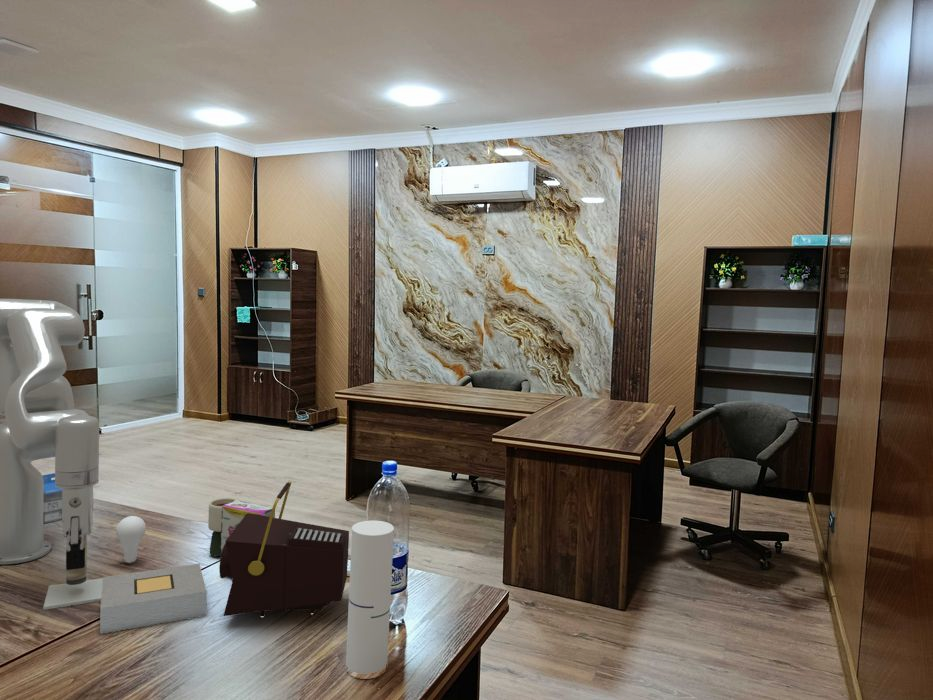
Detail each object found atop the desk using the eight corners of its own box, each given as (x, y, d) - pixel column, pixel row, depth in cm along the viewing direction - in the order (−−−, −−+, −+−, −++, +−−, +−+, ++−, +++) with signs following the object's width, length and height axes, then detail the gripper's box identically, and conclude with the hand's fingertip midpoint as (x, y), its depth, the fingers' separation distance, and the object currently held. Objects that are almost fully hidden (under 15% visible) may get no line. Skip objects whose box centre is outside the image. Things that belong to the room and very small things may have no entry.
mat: (43, 610, 121) (43, 607, 121) (49, 588, 129) (49, 585, 129) (102, 600, 125) (102, 598, 125) (104, 580, 134) (104, 577, 134)
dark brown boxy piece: (239, 589, 134) (242, 476, 132) (347, 590, 136) (352, 479, 134) (215, 629, 117) (219, 500, 116) (339, 629, 119) (344, 503, 118)
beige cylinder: (65, 586, 125) (66, 528, 124) (67, 579, 128) (67, 522, 127) (85, 583, 126) (86, 525, 126) (86, 576, 129) (87, 520, 129)
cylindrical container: (347, 655, 111) (354, 520, 109) (387, 656, 112) (394, 521, 110) (343, 679, 104) (349, 534, 102) (386, 679, 104) (393, 535, 103)
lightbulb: (150, 558, 146) (151, 513, 146) (134, 569, 140) (135, 522, 140) (126, 556, 147) (127, 511, 146) (109, 567, 141) (110, 519, 140)
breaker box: (100, 634, 113) (100, 608, 113) (102, 600, 125) (103, 577, 125) (205, 615, 122) (206, 591, 122) (198, 586, 134) (199, 563, 134)
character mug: (248, 556, 151) (250, 504, 150) (221, 564, 145) (222, 510, 144) (225, 543, 158) (226, 493, 157) (198, 551, 152) (199, 499, 151)
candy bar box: (218, 576, 139) (220, 505, 138) (233, 568, 144) (235, 499, 143) (259, 586, 136) (262, 513, 135) (273, 577, 140) (276, 506, 139)
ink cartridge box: (44, 524, 164) (44, 478, 163) (37, 520, 166) (37, 475, 165) (80, 515, 171) (80, 472, 170) (73, 512, 173) (73, 469, 172)
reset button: (137, 608, 119) (137, 593, 119) (136, 594, 125) (136, 580, 125) (171, 602, 122) (171, 588, 122) (169, 589, 128) (169, 575, 127)
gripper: (96, 486, 120) (95, 577, 121) (100, 465, 135) (99, 547, 136) (50, 489, 117) (49, 584, 118) (59, 468, 131) (58, 552, 132)
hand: (76, 563), depth 127 cm, fingers closed on beige cylinder, 3 cm apart
